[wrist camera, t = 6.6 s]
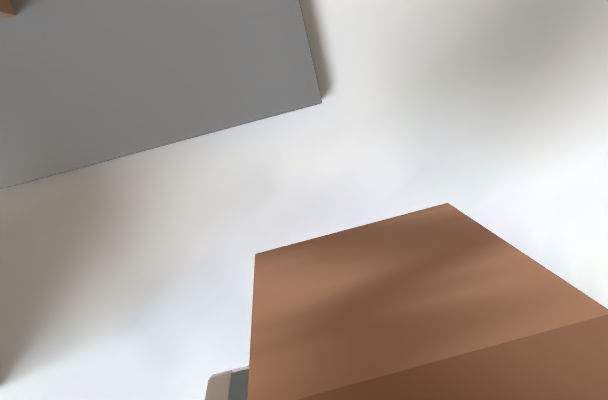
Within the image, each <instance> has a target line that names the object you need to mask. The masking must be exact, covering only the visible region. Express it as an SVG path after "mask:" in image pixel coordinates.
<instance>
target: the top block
mask: <svg viewBox="0 0 608 400" xmlns="http://www.w3.org/2000/svg"><path fill="white" fill-rule="evenodd" d="M247 400H608V309H607V308H605V307H604V306H602V305H601V304H599V303H598V302H596V301H595V300H593V299H592V298H590V297H589V296H587V295H586V294H584V293H583V292H581V291H580V290H578V289H577V288H575V287H574V286H572V285H571V284H569V283H568V282H566V281H565V280H563V279H561V278H560V277H558V276H557V275H555V274H554V273H552V272H551V271H549V270H548V269H546V268H545V267H543V266H542V265H540V264H539V263H537V262H536V261H534V260H533V259H531V258H530V257H528V256H527V255H525V254H524V253H522V252H521V251H519V250H518V249H516V248H515V247H513V246H512V245H510V244H509V243H507V242H506V241H504V240H503V239H501V238H500V237H498V236H497V235H495V234H494V233H492V232H491V231H489V230H488V229H486V228H485V227H483V226H482V225H480V224H479V223H477V222H476V221H474V220H473V219H471V218H470V217H468V216H467V215H465V214H463V213H462V212H460V211H459V210H457V209H456V208H454V207H453V206H451V205H450V204H448V203H446V204H442V205H438V206H435V207H431V208H427V209H423V210H419V211H416V212H412V213H408V214H404V215H401V216H397V217H393V218H389V219H386V220H382V221H378V222H374V223H370V224H367V225H363V226H359V227H355V228H352V229H348V230H344V231H340V232H337V233H333V234H329V235H325V236H322V237H318V238H314V239H310V240H306V241H303V242H299V243H295V244H291V245H288V246H284V247H280V248H276V249H273V250H269V251H265V252H261V253H258V254H255V269H254V287H253V306H252V324H251V343H250V361H249V380H248V398H247Z"/></svg>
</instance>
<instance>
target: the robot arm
mask: <svg viewBox="0 0 608 400" xmlns="http://www.w3.org/2000/svg"><path fill="white" fill-rule="evenodd" d="M248 380H249V366H245V367H241V368H237V369H234V370H230V371H226V372H222V373H218V374H215V375H212V376H211V377H210V379H209V380H208V386H207V391H206V396H205V400H247V398H248Z"/></svg>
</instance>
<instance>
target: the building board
mask: <svg viewBox="0 0 608 400" xmlns="http://www.w3.org/2000/svg"><path fill="white" fill-rule="evenodd" d="M321 103H322V100H321V95H320V91H319V86H318V82H317V78H316V73H315V69H314V64H313V60H312V56H311V51H310V47H309V42H308V38H307V34H306V29H305V25H304V20H303V16H302V12H301V7H300V3H299V0H0V189H3V188H7V187H11V186H14V185H18V184H22V183H26V182H29V181H33V180H37V179H40V178H44V177H48V176H52V175H55V174H59V173H63V172H67V171H70V170H74V169H78V168H82V167H85V166H89V165H93V164H97V163H100V162H104V161H108V160H111V159H115V158H119V157H123V156H126V155H130V154H134V153H138V152H141V151H145V150H149V149H153V148H156V147H160V146H164V145H168V144H171V143H175V142H179V141H182V140H186V139H190V138H194V137H197V136H201V135H205V134H209V133H212V132H216V131H220V130H224V129H227V128H231V127H235V126H238V125H242V124H246V123H250V122H253V121H257V120H261V119H265V118H268V117H272V116H276V115H280V114H283V113H287V112H291V111H295V110H298V109H302V108H306V107H309V106H313V105H317V104H321Z"/></svg>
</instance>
